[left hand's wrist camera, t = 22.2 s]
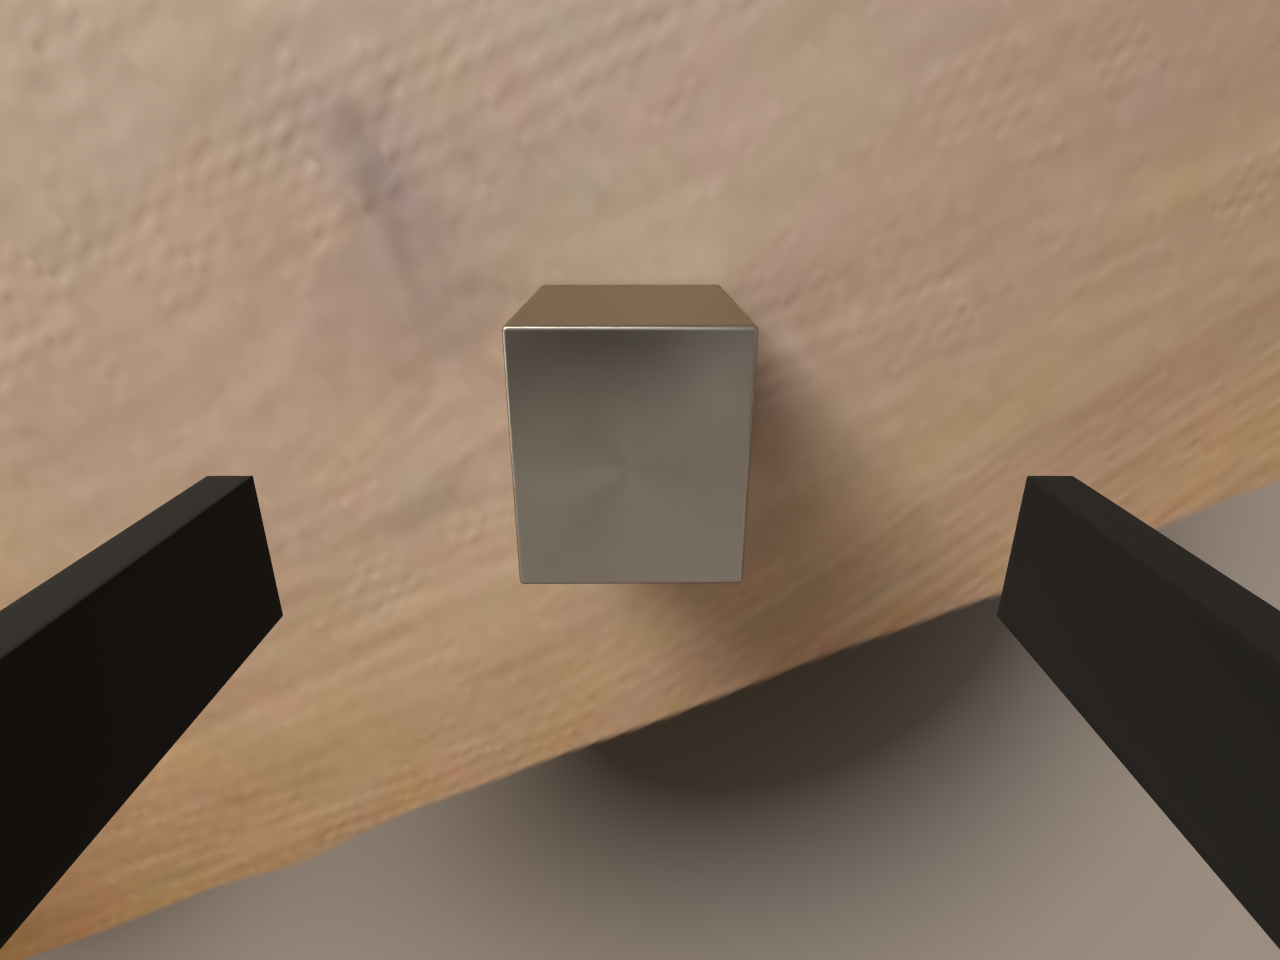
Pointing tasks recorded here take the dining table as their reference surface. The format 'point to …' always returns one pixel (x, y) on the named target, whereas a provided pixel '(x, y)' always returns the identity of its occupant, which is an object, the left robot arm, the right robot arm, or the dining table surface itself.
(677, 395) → the block
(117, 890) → the dining table surface
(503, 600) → the dining table surface
